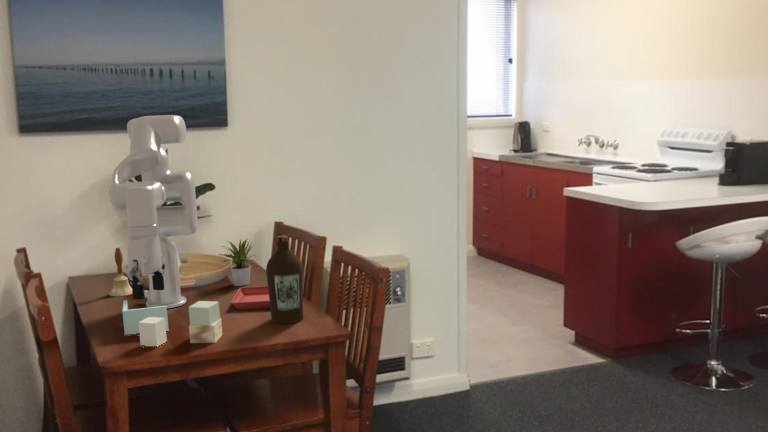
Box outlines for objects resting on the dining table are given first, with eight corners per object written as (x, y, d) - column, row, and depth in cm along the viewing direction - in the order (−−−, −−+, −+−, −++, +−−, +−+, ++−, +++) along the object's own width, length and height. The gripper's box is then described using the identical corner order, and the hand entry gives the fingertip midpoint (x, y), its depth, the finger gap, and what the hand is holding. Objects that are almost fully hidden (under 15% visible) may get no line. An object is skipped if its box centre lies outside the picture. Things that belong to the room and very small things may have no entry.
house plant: (228, 278, 289) (225, 233, 287) (266, 277, 288) (263, 233, 285) (215, 288, 276) (211, 242, 273) (254, 288, 274) (251, 241, 271)
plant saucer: (231, 312, 248) (230, 301, 247) (240, 296, 266) (239, 286, 265) (289, 309, 248) (288, 299, 248) (295, 294, 266) (294, 284, 265)
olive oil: (267, 316, 240) (261, 234, 236) (302, 312, 243) (297, 231, 239) (272, 326, 230) (266, 241, 226) (308, 322, 233) (303, 238, 229)
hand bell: (139, 291, 275) (135, 246, 273) (120, 297, 269) (115, 251, 266) (123, 289, 280) (119, 244, 277) (103, 295, 273) (99, 249, 270)
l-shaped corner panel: (168, 331, 230) (166, 306, 228) (124, 336, 226) (122, 311, 225) (167, 320, 241) (165, 295, 240) (125, 324, 238) (123, 300, 237)
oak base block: (190, 343, 219) (188, 325, 218) (198, 335, 226) (196, 318, 225) (215, 343, 218) (214, 325, 217) (222, 334, 225) (221, 317, 224)
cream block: (140, 347, 217) (138, 322, 216) (150, 341, 222) (148, 317, 220) (157, 348, 216) (154, 323, 214) (167, 342, 220) (164, 317, 219)
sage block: (190, 324, 219) (188, 307, 218) (200, 318, 225) (199, 300, 224) (210, 325, 218) (208, 307, 217) (220, 319, 223) (218, 301, 222)
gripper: (148, 226, 222) (154, 286, 225) (111, 237, 206) (118, 302, 208) (172, 226, 220) (178, 286, 223) (137, 237, 204) (143, 303, 206)
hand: (149, 294), depth 216 cm, fingers open, 9 cm apart
